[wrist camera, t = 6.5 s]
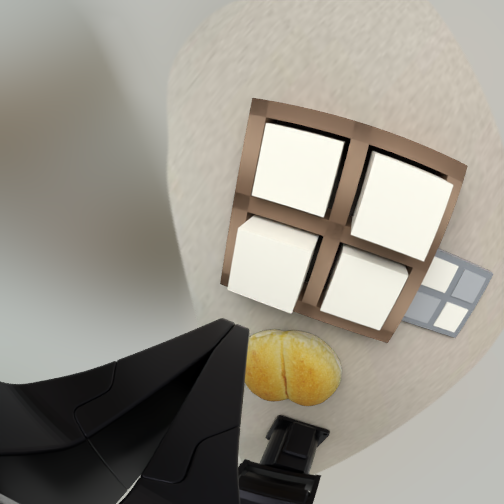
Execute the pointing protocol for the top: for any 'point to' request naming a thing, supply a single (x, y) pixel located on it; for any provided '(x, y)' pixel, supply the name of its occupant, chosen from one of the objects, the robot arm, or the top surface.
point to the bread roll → (291, 367)
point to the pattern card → (447, 294)
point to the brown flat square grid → (336, 206)
